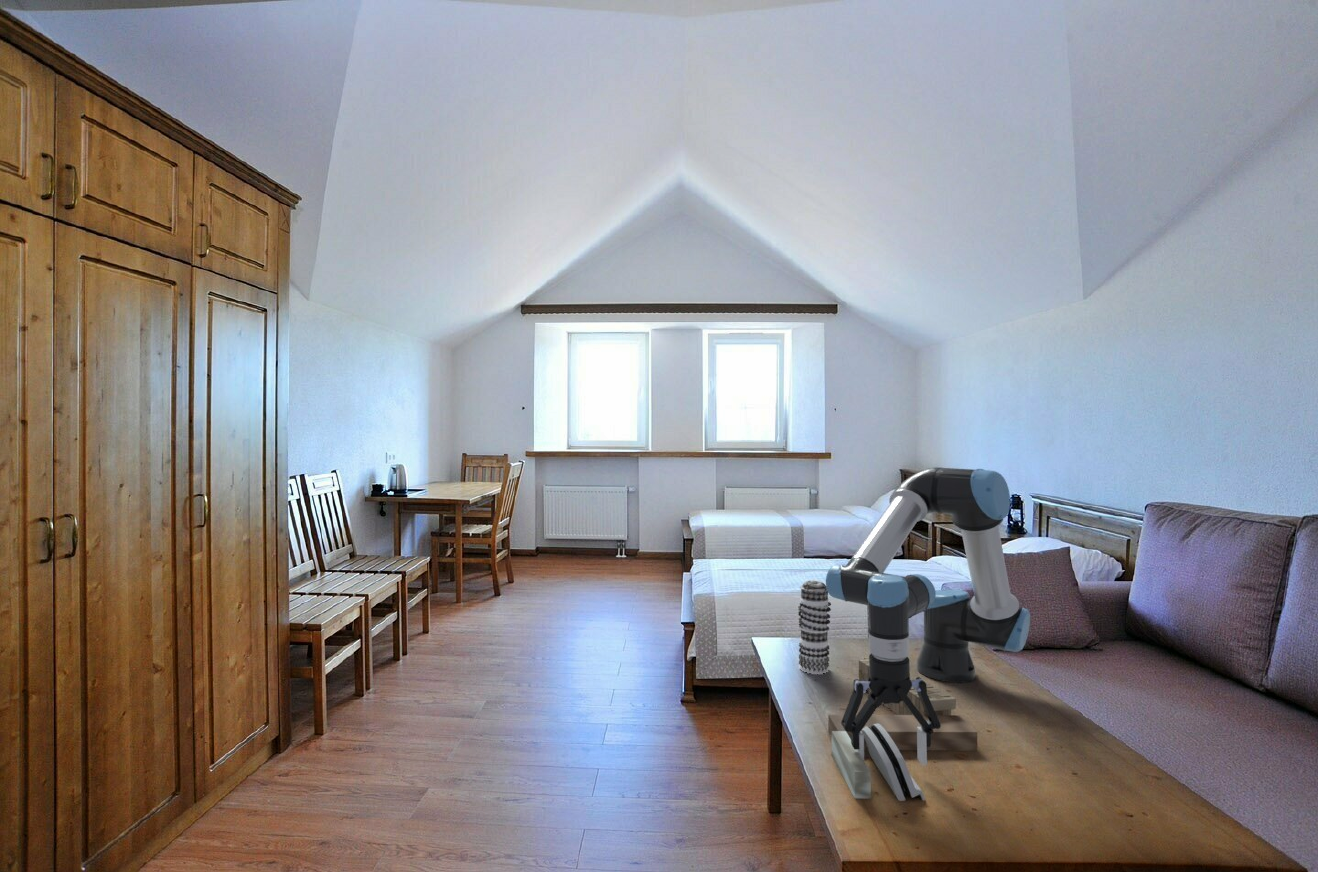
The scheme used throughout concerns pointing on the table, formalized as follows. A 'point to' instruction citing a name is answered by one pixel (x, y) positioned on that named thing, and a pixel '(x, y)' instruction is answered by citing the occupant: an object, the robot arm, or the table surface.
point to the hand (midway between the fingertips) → (891, 763)
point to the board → (903, 734)
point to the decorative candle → (814, 628)
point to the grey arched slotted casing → (890, 762)
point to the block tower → (914, 696)
